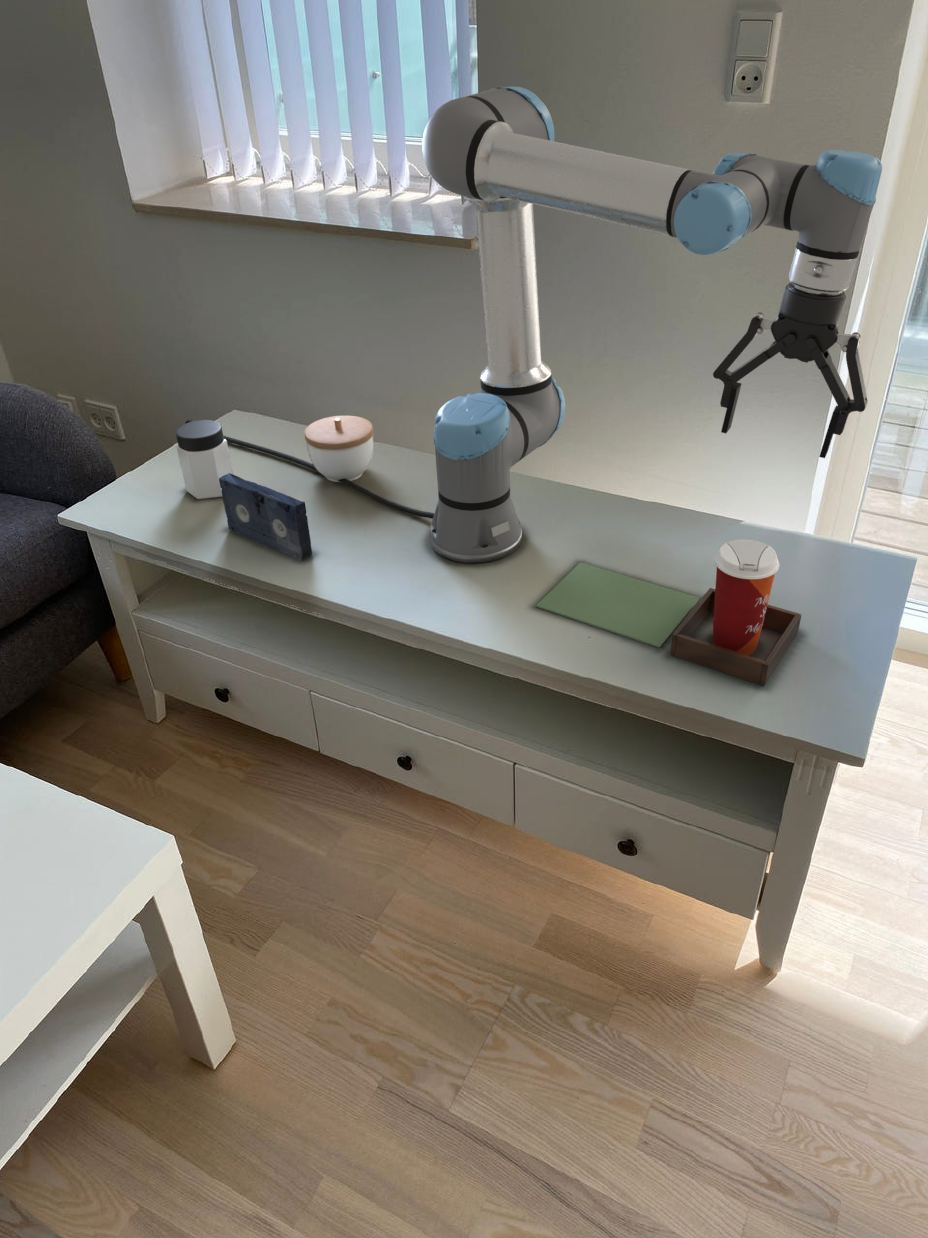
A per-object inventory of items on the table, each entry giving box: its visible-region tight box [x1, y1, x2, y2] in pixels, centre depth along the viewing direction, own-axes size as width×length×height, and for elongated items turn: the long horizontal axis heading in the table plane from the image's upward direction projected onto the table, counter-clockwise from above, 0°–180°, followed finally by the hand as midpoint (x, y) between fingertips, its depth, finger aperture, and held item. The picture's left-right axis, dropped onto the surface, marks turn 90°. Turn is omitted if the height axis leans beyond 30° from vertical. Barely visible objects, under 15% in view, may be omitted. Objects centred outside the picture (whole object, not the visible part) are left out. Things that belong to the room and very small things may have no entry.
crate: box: [669, 587, 802, 687], centre depth 135 cm, size 13×13×4 cm
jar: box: [175, 419, 234, 500], centre depth 178 cm, size 9×8×12 cm
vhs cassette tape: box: [219, 473, 313, 561], centre depth 161 cm, size 18×3×10 cm, turn 51°
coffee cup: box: [712, 538, 780, 656], centre depth 132 cm, size 8×8×15 cm
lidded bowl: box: [303, 415, 375, 483], centre depth 181 cm, size 13×13×11 cm
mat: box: [535, 562, 700, 649], centre depth 145 cm, size 20×14×1 cm
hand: (773, 441), depth 135 cm, fingers open, 13 cm apart
